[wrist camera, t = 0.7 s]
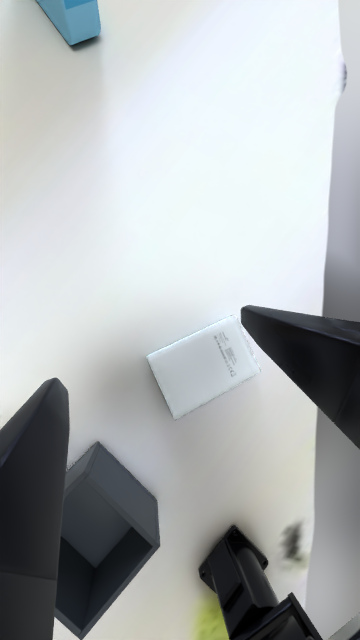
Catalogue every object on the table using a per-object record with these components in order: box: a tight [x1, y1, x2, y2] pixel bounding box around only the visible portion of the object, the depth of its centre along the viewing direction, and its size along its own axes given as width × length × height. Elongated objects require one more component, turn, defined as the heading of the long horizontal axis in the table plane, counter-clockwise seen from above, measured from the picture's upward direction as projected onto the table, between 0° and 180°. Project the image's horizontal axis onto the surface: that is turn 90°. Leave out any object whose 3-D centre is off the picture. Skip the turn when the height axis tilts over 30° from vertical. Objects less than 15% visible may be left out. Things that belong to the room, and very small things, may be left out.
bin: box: [54, 442, 160, 640], centre depth 19 cm, size 10×9×5 cm
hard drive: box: [146, 315, 261, 420], centre depth 24 cm, size 2×8×12 cm
